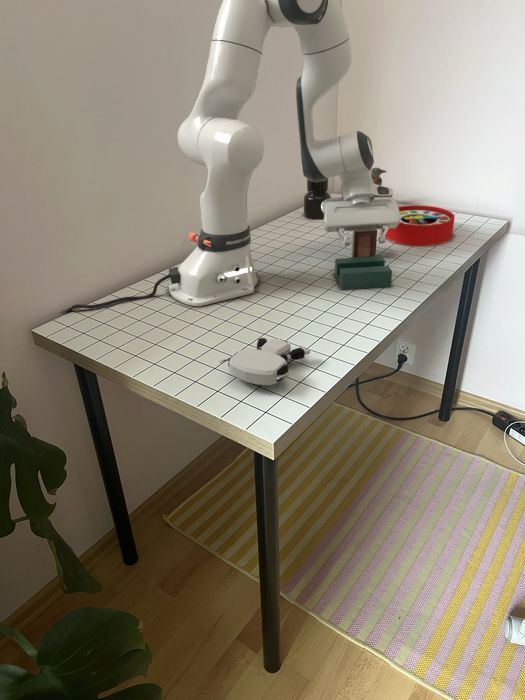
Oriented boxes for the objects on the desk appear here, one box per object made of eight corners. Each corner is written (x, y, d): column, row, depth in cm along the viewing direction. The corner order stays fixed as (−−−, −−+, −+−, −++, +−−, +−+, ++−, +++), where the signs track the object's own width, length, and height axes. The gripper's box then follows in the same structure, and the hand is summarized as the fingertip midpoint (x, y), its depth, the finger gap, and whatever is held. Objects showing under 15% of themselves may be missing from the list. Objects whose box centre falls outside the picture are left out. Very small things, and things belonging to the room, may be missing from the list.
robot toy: (259, 349, 112) (217, 381, 101) (259, 329, 110) (216, 359, 99) (313, 363, 107) (275, 399, 95) (314, 342, 105) (276, 376, 93)
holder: (334, 274, 142) (335, 258, 140) (380, 271, 142) (381, 255, 140) (341, 289, 133) (342, 273, 131) (390, 286, 134) (392, 270, 132)
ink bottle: (333, 212, 188) (334, 176, 182) (329, 219, 180) (330, 182, 174) (305, 211, 190) (305, 175, 184) (300, 219, 182) (300, 182, 176)
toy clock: (379, 206, 171) (444, 204, 170) (378, 224, 174) (442, 222, 173) (390, 226, 154) (463, 224, 153) (389, 246, 157) (460, 244, 156)
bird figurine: (371, 219, 176) (386, 157, 176) (343, 216, 181) (357, 155, 180) (383, 229, 188) (397, 172, 187) (356, 226, 193) (369, 170, 192)
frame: (351, 261, 149) (352, 229, 144) (373, 260, 149) (375, 227, 144) (352, 264, 147) (354, 231, 142) (375, 263, 147) (377, 230, 143)
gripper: (321, 192, 145) (326, 240, 142) (398, 188, 146) (405, 236, 142) (318, 204, 151) (323, 251, 148) (392, 200, 152) (399, 246, 148)
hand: (364, 243), depth 145 cm, fingers open, 8 cm apart
